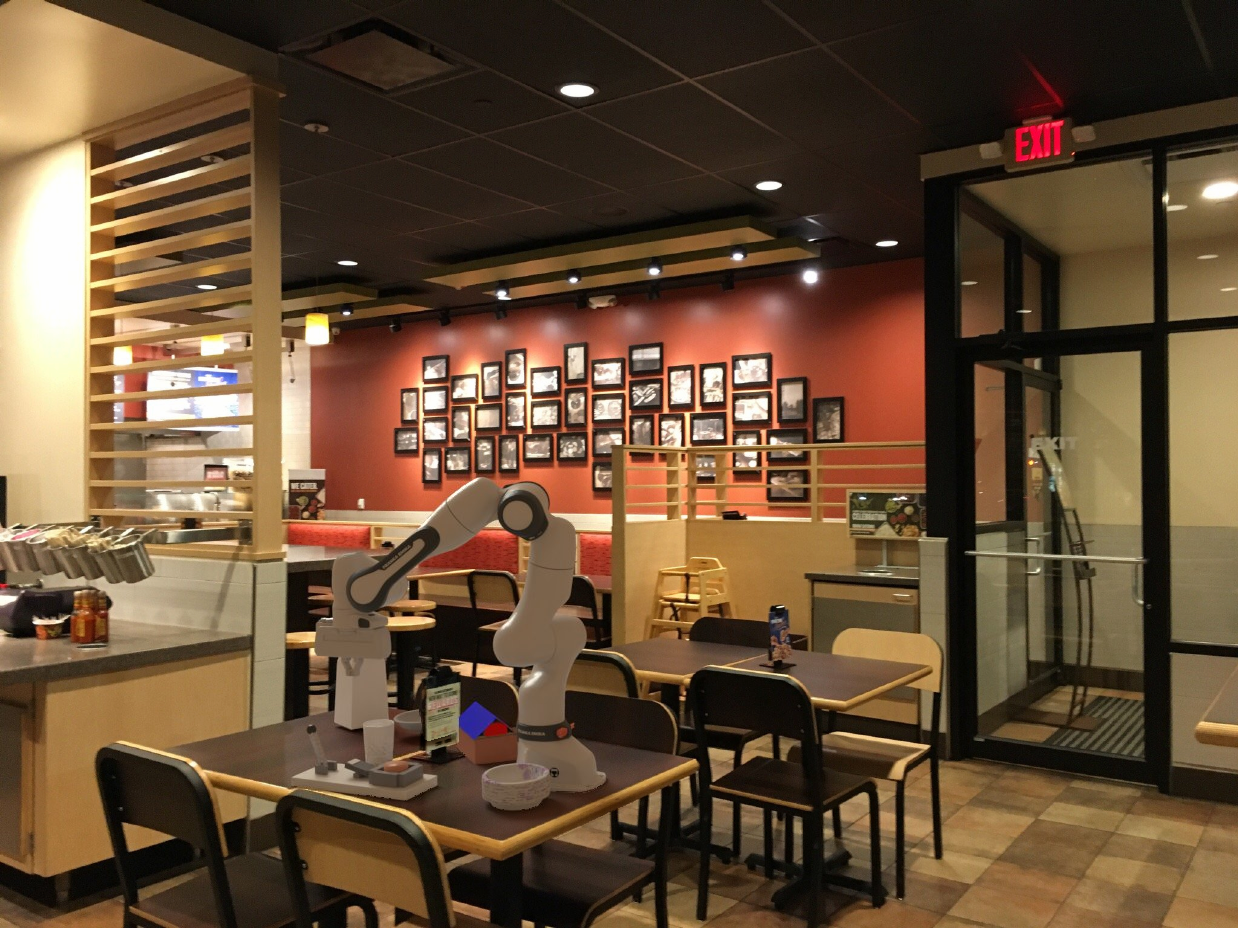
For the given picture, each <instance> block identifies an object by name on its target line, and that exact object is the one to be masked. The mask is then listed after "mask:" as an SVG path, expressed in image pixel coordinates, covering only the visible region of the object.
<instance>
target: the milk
mask: <svg viewBox="0 0 1238 928" xmlns="http://www.w3.org/2000/svg"><path fill="white" fill-rule="evenodd" d="M337 658H338V659H337V661H336V662H337V663H336V678H335V679H336V680H335V697H334V698H335V699H334V720H333V721H334V723H335V724H337V725H340V726H342V727H344V728H346V729H348V730H351V731H352V730H355V729H356V730H357V729H363V723H365V722H367V721H371V720H378V719H387V720H390V717H389V714H390V713H389V699H388V684H387V669H386V668H387V666H386V660H385V659H386V658H384V659H364V662H363V664H362V666H361V668H360V675H359V676H357V677H354V676H346V670H345V668H344V666H343V664H342V662H341V657H337ZM349 662H350V664H351V666H352V668H354V666H355V664H356V663H354V658H351V661H349Z"/></svg>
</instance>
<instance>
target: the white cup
mask: <svg viewBox="0 0 1238 928" xmlns="http://www.w3.org/2000/svg"><path fill="white" fill-rule="evenodd" d="M362 729H363V744H364V754H365V756H364V757H365V762H367V763H369V764H372V765H375V766H379V765H381V764H383V763H385V762H388V761H394V759H393V758H394V752H393V751H394V741H395V721H394V720H392V719H389V720H387V719H378V720H371V721H367V722H365V723H363V728H362Z"/></svg>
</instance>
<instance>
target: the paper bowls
mask: <svg viewBox="0 0 1238 928" xmlns="http://www.w3.org/2000/svg"><path fill="white" fill-rule="evenodd" d="M550 790H551V789H550V771H549V770H548V769H547V768H546V767H544V766H541V765H537V764H530V763H516V762H514V763H508V764H500V765H498V766H494V767H492V768H489V769H487V770H485V771H484V772H483V773H482V775H481V793H482V797H481V798H483V800H484V801H486V802H488V803H491V806H492V807H494V808H495V807H496V809H499V810H503V809H504V810H503V811H523V810H522V809H525V810H529V808H530V809H533V808H532V807H534V808H536V807H538V806H540V805H541V804H540V803H542V801H543V800H544V799H546V798H548V797H549V796H550V794H551V791H550ZM539 804H540V805H539ZM535 806H536V807H535Z"/></svg>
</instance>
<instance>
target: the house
mask: <svg viewBox="0 0 1238 928" xmlns="http://www.w3.org/2000/svg"><path fill="white" fill-rule="evenodd" d="M458 718H459V742H458V743H457V745H456V744H455V747H456V749H458V750H459V751H460V752H461V753H462V752H463V753H462V754H463V755H464V754H465V755H464V757H466V758H467V759H468V760H469V761H471V762H472V763H473V764H474V765H482V764H484V765H485V764H491V763H492V764H493V763H500V762H511V761H517V755H518V741H517V731H516V730H514V729H513V728H511V727H510V726H509V725H507V724H506V723H505V722H504V721H502V720H501V719H499V718H498V717H497V716H496V715H494V714H493V713H492V712H490V711H489V710H487V709H486V708H485V707H483V706H482V705H481V704H479V703H478V702H477V701H474V702H473V703H472V704H471V705H470V706H469V707H468V708H466V710H465V711H464V712H463V713H462V714H461V715H460V716H458Z"/></svg>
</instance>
